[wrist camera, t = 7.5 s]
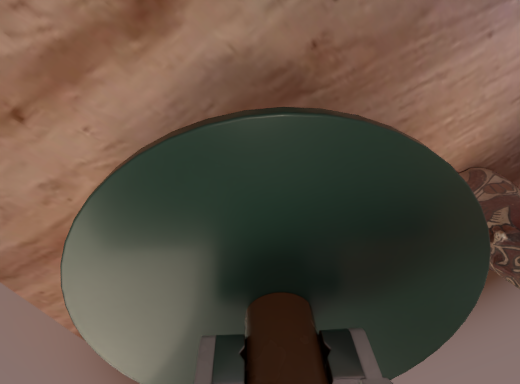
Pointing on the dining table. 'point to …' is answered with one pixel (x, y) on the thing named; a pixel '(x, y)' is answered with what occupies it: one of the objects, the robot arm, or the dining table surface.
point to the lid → (275, 247)
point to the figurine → (499, 219)
